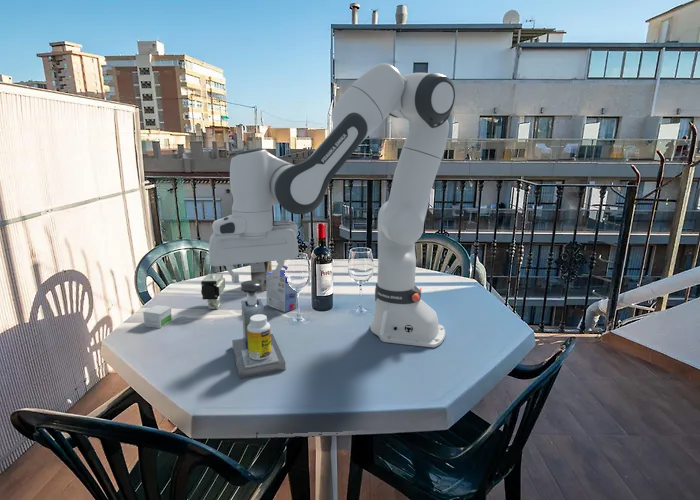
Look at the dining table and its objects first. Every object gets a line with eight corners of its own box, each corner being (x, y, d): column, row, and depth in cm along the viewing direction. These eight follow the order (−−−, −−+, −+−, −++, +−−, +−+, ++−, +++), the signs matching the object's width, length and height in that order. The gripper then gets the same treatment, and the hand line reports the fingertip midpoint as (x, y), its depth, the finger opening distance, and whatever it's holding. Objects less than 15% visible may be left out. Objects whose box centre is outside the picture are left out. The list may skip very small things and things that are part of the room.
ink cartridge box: (297, 308, 130) (297, 267, 126) (285, 313, 125) (284, 271, 122) (278, 301, 135) (276, 262, 132) (266, 305, 131) (264, 265, 128)
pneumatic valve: (202, 314, 123) (199, 279, 120) (211, 301, 134) (209, 268, 131) (219, 314, 123) (217, 279, 120) (227, 300, 135) (225, 268, 132)
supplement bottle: (263, 363, 91) (261, 324, 88) (243, 358, 93) (241, 319, 90) (275, 352, 96) (274, 314, 93) (257, 347, 98) (255, 311, 95)
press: (285, 369, 93) (284, 320, 90) (239, 378, 89) (236, 328, 86) (272, 340, 107) (271, 297, 104) (232, 346, 103) (229, 302, 100)
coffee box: (267, 290, 145) (266, 250, 141) (251, 290, 145) (249, 249, 141) (272, 282, 154) (271, 244, 150) (257, 282, 154) (255, 244, 150)
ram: (264, 329, 100) (263, 285, 97) (244, 332, 98) (242, 287, 95) (261, 321, 105) (259, 279, 102) (242, 324, 103) (239, 281, 100)
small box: (160, 328, 113) (159, 313, 112) (144, 326, 114) (142, 311, 113) (173, 320, 118) (171, 306, 117) (157, 318, 119) (155, 304, 118)
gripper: (294, 217, 92) (295, 271, 96) (205, 222, 85) (210, 280, 88) (301, 221, 87) (302, 278, 90) (206, 227, 79) (211, 289, 83)
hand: (256, 279), depth 89 cm, fingers open, 8 cm apart
